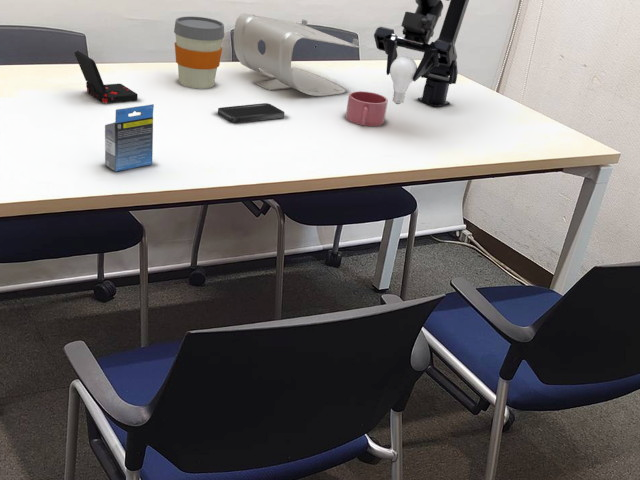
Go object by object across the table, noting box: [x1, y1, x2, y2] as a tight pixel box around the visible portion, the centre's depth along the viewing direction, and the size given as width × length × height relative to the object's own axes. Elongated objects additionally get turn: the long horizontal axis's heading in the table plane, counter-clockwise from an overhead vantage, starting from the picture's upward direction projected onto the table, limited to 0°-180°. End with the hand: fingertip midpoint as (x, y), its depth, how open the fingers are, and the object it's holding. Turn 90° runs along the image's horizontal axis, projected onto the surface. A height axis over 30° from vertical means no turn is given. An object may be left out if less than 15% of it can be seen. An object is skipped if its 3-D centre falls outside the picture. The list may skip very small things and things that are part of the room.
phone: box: [217, 102, 285, 124], centre depth 209 cm, size 8×1×15 cm
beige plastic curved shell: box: [233, 13, 360, 97], centre depth 233 cm, size 26×24×16 cm
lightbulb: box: [389, 55, 418, 105], centre depth 206 cm, size 6×6×11 cm
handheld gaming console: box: [74, 50, 138, 104], centre depth 206 cm, size 9×12×10 cm
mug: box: [345, 90, 389, 127], centre depth 215 cm, size 13×10×6 cm
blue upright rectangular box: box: [104, 103, 155, 173], centre depth 171 cm, size 9×4×12 cm, turn 133°
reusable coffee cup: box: [173, 16, 225, 90], centre depth 222 cm, size 13×12×15 cm
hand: (400, 77), depth 204 cm, fingers closed on lightbulb, 6 cm apart
